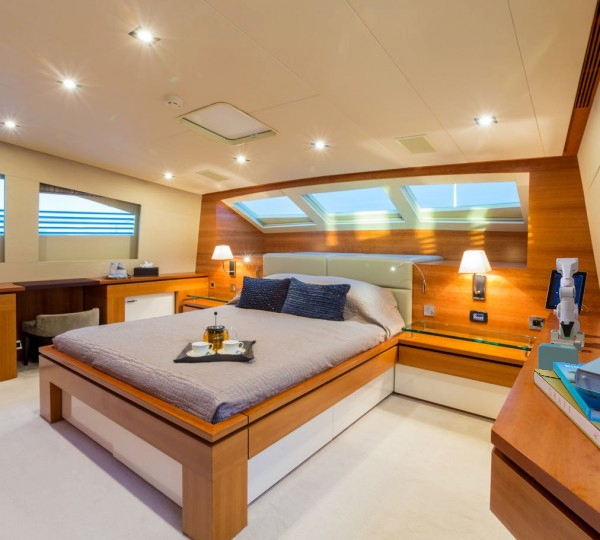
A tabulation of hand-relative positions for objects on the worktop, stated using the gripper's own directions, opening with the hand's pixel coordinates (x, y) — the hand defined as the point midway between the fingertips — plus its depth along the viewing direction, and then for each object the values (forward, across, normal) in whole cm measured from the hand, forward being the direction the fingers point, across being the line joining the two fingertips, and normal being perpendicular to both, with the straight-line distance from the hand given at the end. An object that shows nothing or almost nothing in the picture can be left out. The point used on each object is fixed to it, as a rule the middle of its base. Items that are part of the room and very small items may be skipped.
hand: (567, 336), depth 183 cm
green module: (+2, 0, 0) cm, 2 cm away
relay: (+4, +14, +4) cm, 15 cm away
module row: (+4, 0, 0) cm, 4 cm away
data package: (+4, +65, 0) cm, 65 cm away
